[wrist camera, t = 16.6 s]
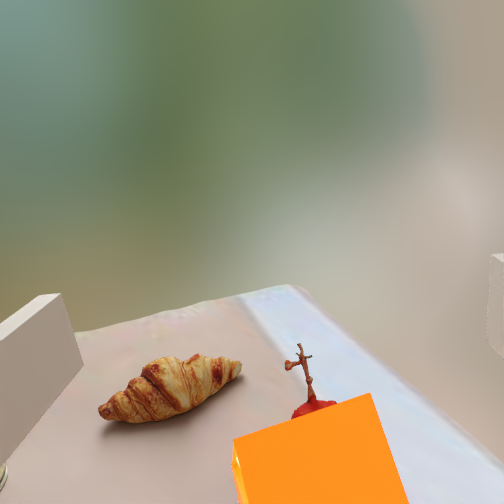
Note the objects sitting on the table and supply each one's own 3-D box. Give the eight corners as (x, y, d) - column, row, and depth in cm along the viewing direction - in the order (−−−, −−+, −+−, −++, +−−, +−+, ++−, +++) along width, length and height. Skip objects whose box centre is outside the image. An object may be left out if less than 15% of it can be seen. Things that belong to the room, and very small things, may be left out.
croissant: (238, 382, 65) (224, 335, 66) (258, 387, 56) (241, 333, 57) (106, 433, 58) (93, 379, 59) (103, 448, 48) (88, 384, 49)
